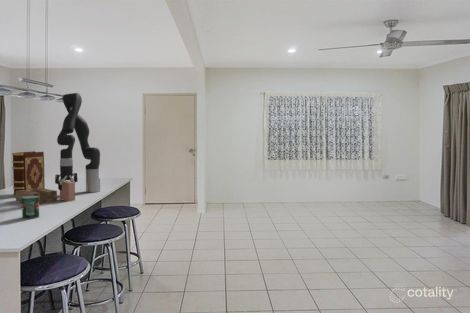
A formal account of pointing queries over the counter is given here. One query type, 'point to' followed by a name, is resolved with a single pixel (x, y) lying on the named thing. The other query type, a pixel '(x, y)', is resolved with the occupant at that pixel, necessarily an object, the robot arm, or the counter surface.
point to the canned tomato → (30, 207)
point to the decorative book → (28, 171)
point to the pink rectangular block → (67, 191)
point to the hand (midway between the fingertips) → (66, 189)
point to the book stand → (43, 194)
